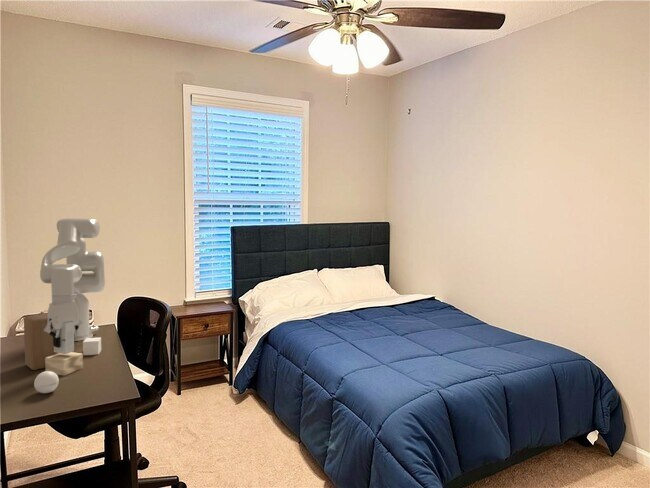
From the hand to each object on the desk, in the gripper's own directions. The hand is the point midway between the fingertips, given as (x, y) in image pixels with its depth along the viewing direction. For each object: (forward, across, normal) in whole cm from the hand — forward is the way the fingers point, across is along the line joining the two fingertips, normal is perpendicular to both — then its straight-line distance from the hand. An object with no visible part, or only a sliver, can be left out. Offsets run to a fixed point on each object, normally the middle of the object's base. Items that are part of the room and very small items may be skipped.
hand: (64, 344), depth 178 cm
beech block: (+10, 0, 0) cm, 10 cm away
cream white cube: (+10, -19, -11) cm, 24 cm away
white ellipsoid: (+10, +15, +17) cm, 25 cm away
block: (+10, +1, -13) cm, 17 cm away
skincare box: (+3, 0, 0) cm, 3 cm away
